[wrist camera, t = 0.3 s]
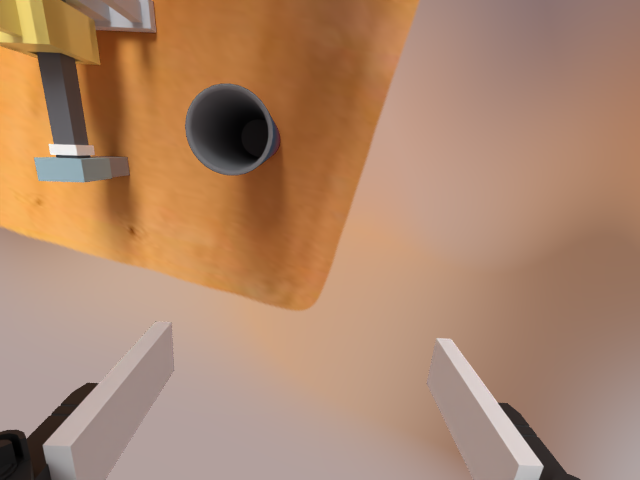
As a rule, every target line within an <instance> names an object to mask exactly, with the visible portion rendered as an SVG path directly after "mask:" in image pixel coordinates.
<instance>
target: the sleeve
mask: <svg viewBox="0 0 640 480" xmlns="http://www.w3.org/2000/svg"><path fill="white" fill-rule="evenodd" d="M0 46H2V47H5V48H8V49H11V50H14V51H17V52H20V53H23V54H26V55H29V56H32V57H35V58H38V56H37V52H52V53H62V54H65V55H67V56H70V57H73V58H75V63H76V64H90V65H101V64H100V57H99V50H98V43H97V36H96V29H95V21H94V20H93V19H91V18H90V17H88V16H86V15H85V14H83V13H81V12H80V11H78V10H76V9H75V8H73V7H71V6H70V5H68V4H66V3H65V2H63V1H61V0H0Z"/></svg>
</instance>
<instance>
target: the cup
mask: <svg viewBox="0 0 640 480" xmlns="http://www.w3.org/2000/svg"><path fill="white" fill-rule="evenodd" d="M185 129H186V137H187V140H188V143H189V146H190V148H191V150H192V151H193V153H194V155H195V156H196V157H197V158H198V160H199V161H200V162H201V163H203V164H204V165H205V166H206V167H208V168H209V169H211V170H212V171H215V172H217V173H220V174H224V175H241V174H245V173H248V172H250V171H252V170H254V169H255V168H256V167H258V166H259V165H261V164H262V163H263V162H264V161H266V160H267V159H268V158H270V157H271V156H272V155H274V154H275V152H276V151H277V150H278V148H279V145H280V134H279V131H278V128H277V126H276V125H275V123H274V121H273V119H272V117H271V116H270V114H269V112H268V110H267V108H266V107H265V105H264V104H263V103H262V101H261V100H260V99H259V98H258V97H257V96H256V95H255V94H254V93H252V92H251V91H249V90H248V89H246V88H243V87H241V86H239V85H234V84H218V85H213V86H211V87H209V88H207V89H204V90H203V91H202V92H201V93H199V94H198V95H197V96H196V98H195V99H194V100H193V101H192V103H191V105H190V107H189V109H188V112H187V116H186V124H185Z"/></svg>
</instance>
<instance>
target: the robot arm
mask: <svg viewBox="0 0 640 480" xmlns="http://www.w3.org/2000/svg"><path fill="white" fill-rule="evenodd" d="M173 371H174V359H173V342H172V323H171V322H159V321H155V322H154V323H153V325H152V326H151V327H150V328H149V329H148V330H147V331H146V332H145V333H144V335H142V337H141V338H140V339H139V340H138V341H137V342H136V343H135V344H134V345H133V347H132V348H131V349H130V350H129V351H128V352H127V353H126V354H125V355H124V356H123V357H122V359H121V360H120V361H119V362H118V363H117V364H116V365H115V366H114V367H113V369H112V370H111V371H110V372H109V373H108V374H107V375H106V376H105V377H104V378H103V379H102V381H101V382H100V383H86V384H85V385H83V386H82V387H80V388H79V389H77V390H75V391H74V392H72V393H71V394H70V395H69V396H68V397H67V398H66V399H65V400H64V401H63V402H62V403H61V406H59V407H58V408H57V409H55V411H54V412H53V413H52V415H51V416H49V417H48V418H47V419H46V420H45V421H44V422H43V423H42V424H41V425H40V426H39V427H38V428H37V429H36V430H35V431H34V432H33V433H32V434H31V435H30V436H29V437H28V438H27V439H26V436H25V434H24V432H22V431H19V430H6V431H2V432H0V480H106V478H107V477H108V475H109V473H110V472H111V470H112V469H113V467H114V465H115V464H116V462H117V461H118V459H119V457H120V456H121V454H122V453H123V451H124V449H125V448H126V446H127V445H128V443H129V441H130V440H131V438H132V437H133V435H134V433H135V432H136V430H137V429H138V427H139V425H140V424H141V422H142V421H143V419H144V417H145V416H146V414H147V413H148V411H149V409H150V408H151V406H152V405H153V403H154V401H155V400H156V398H157V397H158V395H159V393H160V392H161V390H162V389H163V387H164V385H165V384H166V382H167V381H168V379H169V377H170V376H171V374H172V373H173ZM427 385H428V387H429V389H430V391H431V393H432V395H433V397H434V399H435V402H436V404H437V406H438V408H439V410H440V412H441V414H442V416H443V418H444V420H445V422H446V424H447V426H448V428H449V430H450V432H451V435H452V437H453V439H454V441H455V443H456V445H457V447H458V449H459V451H460V453H461V455H462V457H463V459H464V461H465V463H466V465H467V467H468V470H469V472H470V474H471V476H472V478H473V480H580V479H579V478H576V477H574V476H572V475H569V474H567V473H566V472H565V470H564V469H563V468H562V467H561V465H560V464H559V463H558V462H557V460H556V459H555V458H554V456H553V455H552V454H551V453H550V451H549V450H548V449H547V447H546V446H545V445H544V444H543V442H542V441H541V440H540V439H539V438H538V437H537V435H536V434H535V432H534V431H533V430H532V428H530V427H529V424H528V423H527V422H526V421H525V419H524V418H523V417H522V415H521V414H520V413H519V412H517V411H516V410H515V409H514V408H512V407H511V406H510V405H509V404H508V403H497V401H496V400H495V399H494V397H493V396H492V394H491V393H490V392H489V390H488V389H487V388H486V386H485V385H484V383H483V382H482V381H481V379H480V378H479V377H478V375H477V374H476V373H475V371H474V370H473V368H472V367H471V366H470V364H469V363H468V361H467V360H466V359H465V357H464V356H463V355H462V353H461V352H460V350H459V349H458V348H457V346H456V345H455V344H454V342H453V341H452V339H444V338H436V342H435V346H434V352H433V356H432V361H431V365H430V370H429V375H428V380H427Z"/></svg>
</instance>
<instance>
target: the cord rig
mask: <svg viewBox="0 0 640 480" xmlns="http://www.w3.org/2000/svg"><path fill="white" fill-rule="evenodd" d="M61 1H63V2H65V3H66V4H68V5H70V6H71V7H73V8H75V9H76V10H78V11H80V12H81V13H83V14H85V15H86V16H88V17H90V18H91V19H93V20H94V21H95V29H96V30H109V31H130V32H152V33H156V25H155V14H154V4H153V1H152V0H61ZM37 56H38V61H39V67H40V72H41V77H42V83H43V88H44V93H45V99H46V104H47V109H48V115H49V120H50V125H51V131H52V136H53V141H54V144H49V149H50V155H56V157H39V158H34V160H35V165H36V170H37V174H38V179H39V181H61V182H90V181H97V180H105V179H112V177H119V176H127V175H130V174H129V166H128V158H127V157H109V156H94V157H90V155H95V152H94V146H93V145H88V138H87V132H86V126H85V120H84V113H83V107H82V101H81V94H80V88H79V82H78V75H77V69H76V63H75V58H73V57H70V56H67V55H65V54H62V53H52V52H37Z"/></svg>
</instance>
